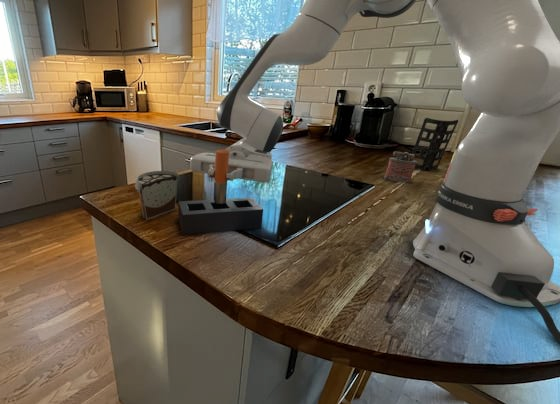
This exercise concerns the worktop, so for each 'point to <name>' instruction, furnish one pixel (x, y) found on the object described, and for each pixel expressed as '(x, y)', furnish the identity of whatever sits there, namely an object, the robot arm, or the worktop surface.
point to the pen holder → (219, 215)
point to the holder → (433, 143)
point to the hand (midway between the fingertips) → (219, 175)
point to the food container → (157, 192)
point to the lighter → (400, 167)
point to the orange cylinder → (220, 176)
